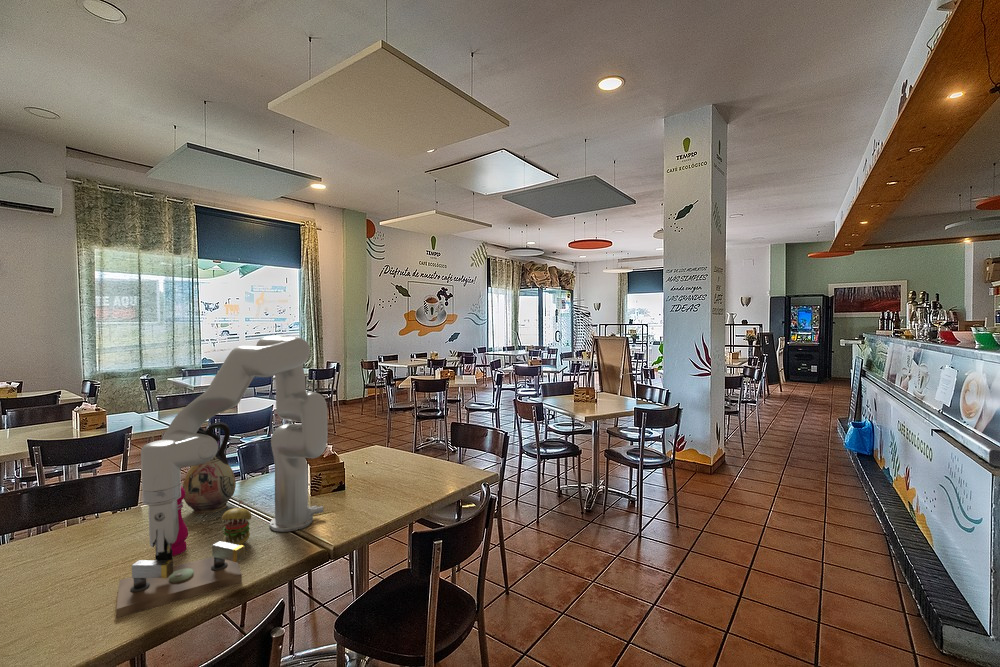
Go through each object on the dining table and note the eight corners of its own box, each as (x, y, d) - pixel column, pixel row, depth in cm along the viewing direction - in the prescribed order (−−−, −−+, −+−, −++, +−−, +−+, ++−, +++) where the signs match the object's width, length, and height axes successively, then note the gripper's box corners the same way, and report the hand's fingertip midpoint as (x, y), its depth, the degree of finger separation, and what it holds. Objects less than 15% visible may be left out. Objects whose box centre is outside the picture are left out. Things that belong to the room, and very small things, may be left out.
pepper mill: (172, 559, 127) (171, 486, 126) (150, 556, 129) (149, 484, 128) (194, 546, 134) (194, 477, 134) (173, 544, 136) (172, 475, 135)
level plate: (233, 558, 128) (233, 547, 128) (241, 582, 117) (241, 570, 117) (119, 588, 114) (119, 575, 113) (116, 618, 102) (116, 604, 102)
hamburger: (216, 550, 132) (216, 508, 132) (227, 538, 139) (227, 498, 139) (246, 548, 133) (246, 506, 133) (255, 537, 140) (255, 497, 140)
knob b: (131, 588, 109) (130, 565, 109) (138, 582, 111) (138, 559, 111) (166, 589, 109) (166, 565, 109) (173, 583, 111) (173, 560, 111)
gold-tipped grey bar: (211, 566, 119) (211, 544, 119) (219, 561, 121) (219, 540, 121) (236, 572, 116) (236, 550, 116) (244, 567, 119) (244, 545, 119)
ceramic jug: (176, 522, 150) (175, 428, 149) (188, 504, 164) (188, 418, 163) (237, 515, 156) (236, 424, 155) (244, 498, 170) (243, 415, 170)
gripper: (177, 501, 108) (180, 579, 109) (183, 480, 121) (185, 550, 122) (136, 507, 104) (139, 588, 105) (147, 485, 117) (150, 557, 118)
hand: (164, 567), depth 114 cm, fingers closed
